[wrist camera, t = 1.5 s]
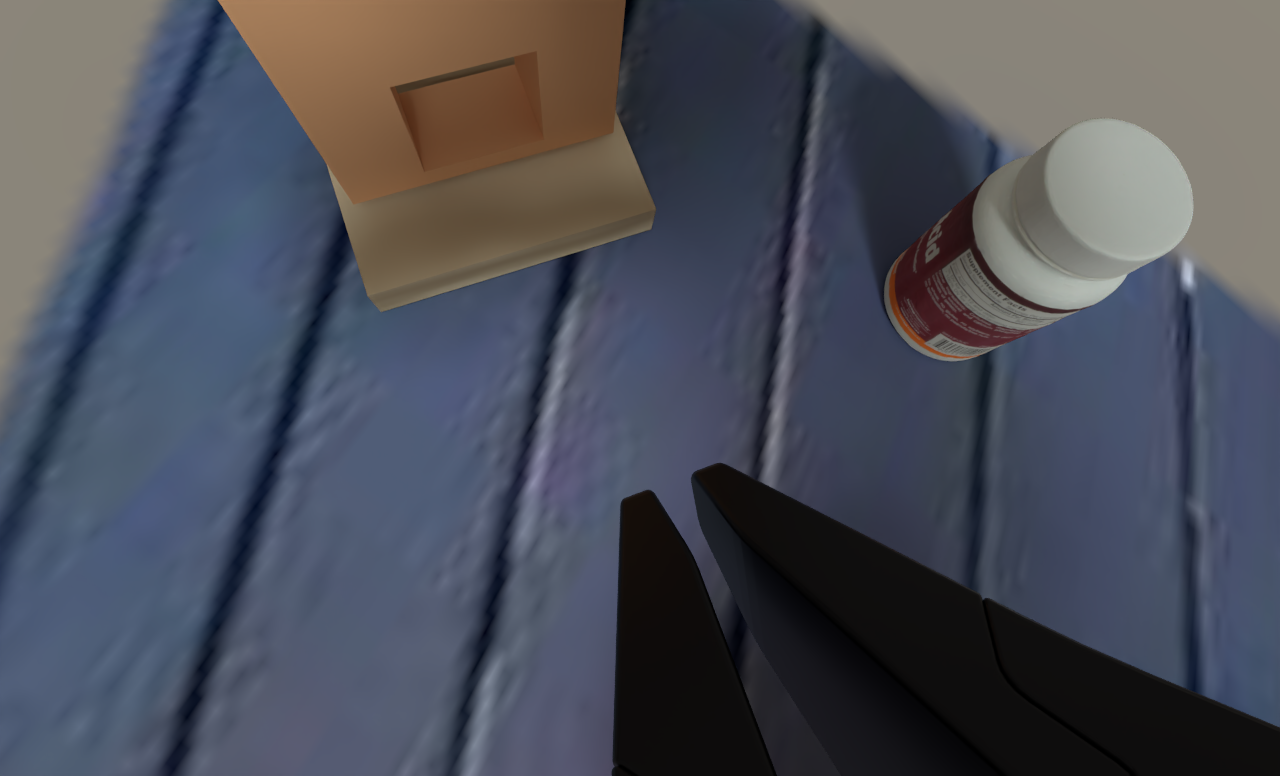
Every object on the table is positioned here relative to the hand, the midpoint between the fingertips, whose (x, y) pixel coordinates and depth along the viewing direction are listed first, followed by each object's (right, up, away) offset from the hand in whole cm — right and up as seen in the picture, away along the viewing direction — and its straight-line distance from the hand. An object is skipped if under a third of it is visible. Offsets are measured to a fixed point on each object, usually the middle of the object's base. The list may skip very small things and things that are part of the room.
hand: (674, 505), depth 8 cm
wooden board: (-6, +10, +14) cm, 18 cm away
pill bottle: (+11, +5, +16) cm, 20 cm away
